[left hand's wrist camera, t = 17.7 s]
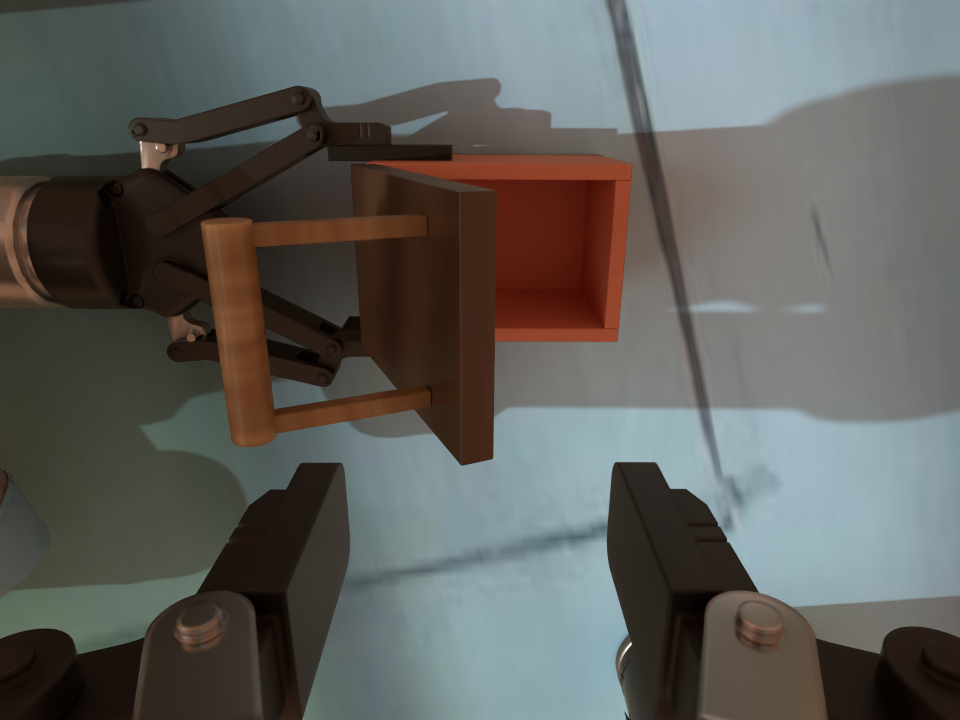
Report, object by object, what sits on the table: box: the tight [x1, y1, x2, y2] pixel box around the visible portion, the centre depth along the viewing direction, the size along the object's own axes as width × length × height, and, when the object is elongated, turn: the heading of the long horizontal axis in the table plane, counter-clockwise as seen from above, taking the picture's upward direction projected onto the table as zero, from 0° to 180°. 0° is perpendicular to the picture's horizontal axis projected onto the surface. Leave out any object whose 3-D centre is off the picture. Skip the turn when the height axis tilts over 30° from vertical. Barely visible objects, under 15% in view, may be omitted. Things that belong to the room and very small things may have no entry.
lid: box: [201, 164, 497, 466], centre depth 26 cm, size 14×10×9 cm
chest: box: [366, 154, 632, 342], centre depth 39 cm, size 14×10×10 cm
